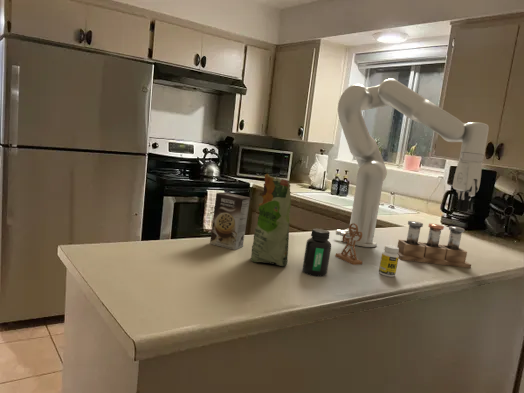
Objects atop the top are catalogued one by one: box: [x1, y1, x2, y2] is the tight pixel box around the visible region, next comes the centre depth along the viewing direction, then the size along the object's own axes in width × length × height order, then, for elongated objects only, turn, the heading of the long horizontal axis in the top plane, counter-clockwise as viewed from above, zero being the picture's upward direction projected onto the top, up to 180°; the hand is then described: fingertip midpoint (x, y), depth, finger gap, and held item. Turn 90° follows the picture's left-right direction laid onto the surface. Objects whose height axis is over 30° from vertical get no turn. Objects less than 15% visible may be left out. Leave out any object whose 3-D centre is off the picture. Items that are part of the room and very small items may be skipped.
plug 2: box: [446, 225, 465, 250], centre depth 156 cm, size 5×5×8 cm
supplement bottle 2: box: [378, 244, 399, 278], centre depth 129 cm, size 5×5×8 cm
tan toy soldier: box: [334, 223, 363, 266], centre depth 139 cm, size 9×4×12 cm, turn 30°
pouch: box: [250, 173, 292, 267], centre depth 124 cm, size 11×12×25 cm
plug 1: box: [406, 220, 424, 245], centre depth 155 cm, size 5×5×8 cm
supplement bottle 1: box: [302, 228, 332, 277], centre depth 121 cm, size 7×7×12 cm
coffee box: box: [209, 191, 251, 251], centre depth 137 cm, size 9×6×16 cm
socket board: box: [396, 239, 472, 269], centre depth 156 cm, size 25×10×5 cm, turn 93°
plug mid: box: [426, 223, 445, 248], centre depth 155 cm, size 5×5×8 cm
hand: (461, 210), depth 154 cm, fingers closed
